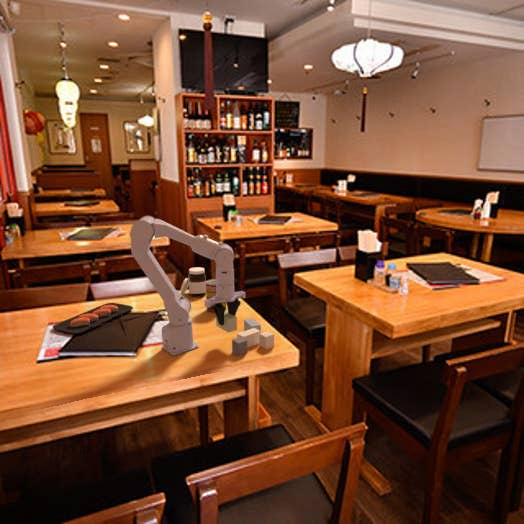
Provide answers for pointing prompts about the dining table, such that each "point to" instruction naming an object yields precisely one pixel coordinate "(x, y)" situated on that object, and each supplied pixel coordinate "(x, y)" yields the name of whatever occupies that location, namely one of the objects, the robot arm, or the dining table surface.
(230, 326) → the sage green brick
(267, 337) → the pale grey cube brick
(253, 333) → the cream brick
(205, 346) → the dining table surface
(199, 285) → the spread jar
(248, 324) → the slate blue brick
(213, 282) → the canned food
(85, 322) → the sushi plate
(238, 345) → the charcoal cube brick
